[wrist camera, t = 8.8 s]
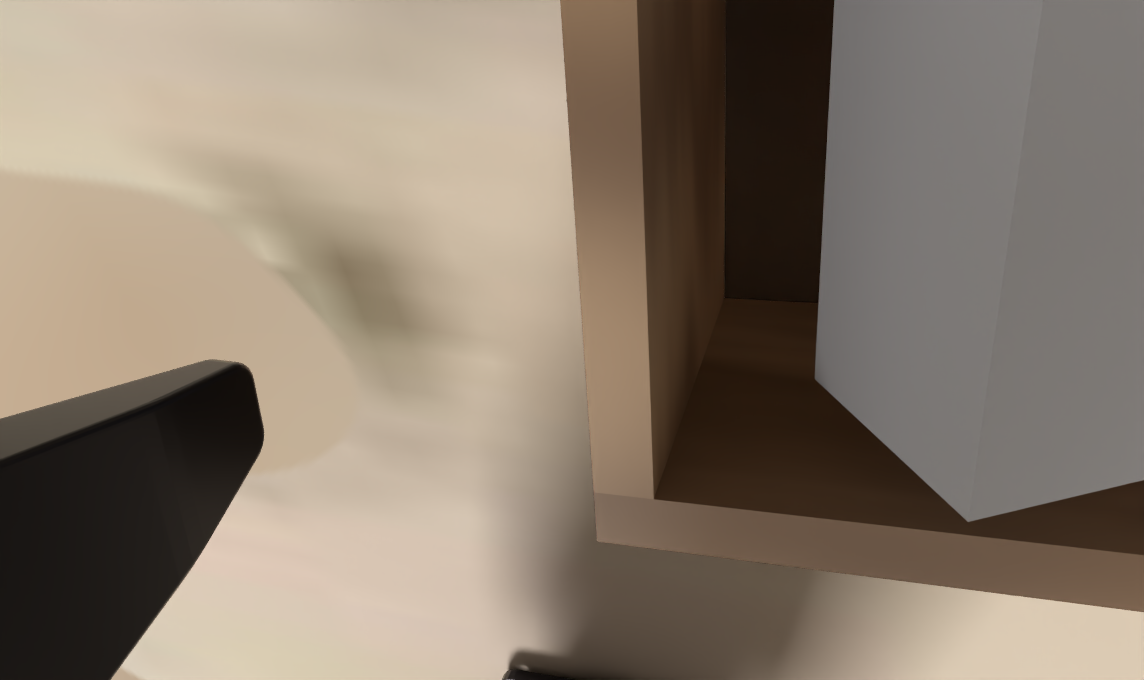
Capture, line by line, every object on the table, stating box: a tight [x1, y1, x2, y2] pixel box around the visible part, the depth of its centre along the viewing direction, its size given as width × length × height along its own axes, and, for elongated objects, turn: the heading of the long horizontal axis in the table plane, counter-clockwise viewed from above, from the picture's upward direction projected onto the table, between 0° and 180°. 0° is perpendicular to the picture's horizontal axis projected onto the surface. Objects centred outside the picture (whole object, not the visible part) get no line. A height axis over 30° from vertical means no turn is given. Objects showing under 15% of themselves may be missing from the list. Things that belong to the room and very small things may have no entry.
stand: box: [560, 0, 1144, 612], centre depth 15 cm, size 14×10×8 cm
